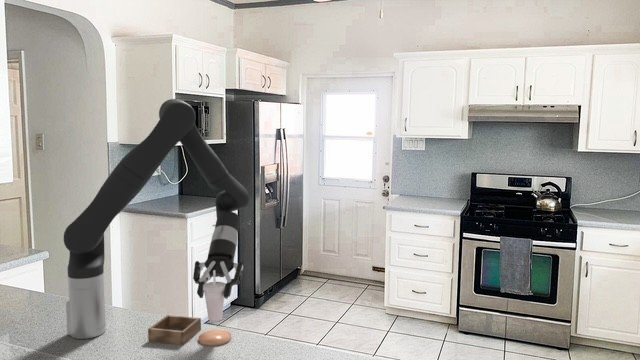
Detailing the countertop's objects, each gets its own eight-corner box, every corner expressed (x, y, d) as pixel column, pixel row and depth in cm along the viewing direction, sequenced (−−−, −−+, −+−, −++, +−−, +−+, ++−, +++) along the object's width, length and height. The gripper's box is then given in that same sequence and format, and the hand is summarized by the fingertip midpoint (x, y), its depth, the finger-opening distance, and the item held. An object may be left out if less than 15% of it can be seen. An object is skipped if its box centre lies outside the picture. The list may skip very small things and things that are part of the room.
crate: (148, 341, 138) (148, 328, 138) (167, 326, 149) (167, 315, 148) (183, 344, 136) (183, 332, 136) (200, 329, 146) (200, 318, 146)
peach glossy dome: (192, 344, 137) (192, 341, 136) (207, 331, 145) (207, 328, 145) (223, 347, 135) (223, 344, 135) (236, 333, 143) (236, 331, 143)
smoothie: (204, 324, 136) (202, 274, 134) (203, 315, 142) (201, 267, 140) (228, 321, 137) (226, 272, 136) (226, 313, 144) (224, 265, 142)
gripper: (196, 237, 145) (183, 290, 135) (245, 238, 144) (236, 291, 134) (202, 250, 151) (190, 302, 141) (249, 251, 150) (241, 303, 140)
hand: (213, 296), depth 137 cm, fingers closed on smoothie, 6 cm apart
